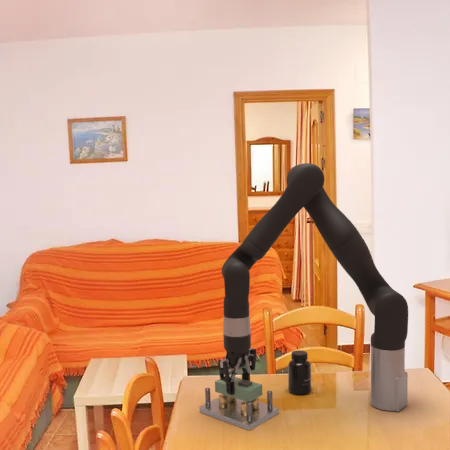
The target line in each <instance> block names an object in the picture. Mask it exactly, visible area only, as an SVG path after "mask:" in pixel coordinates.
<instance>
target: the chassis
mask: <svg viewBox="0 0 450 450" xmlns="http://www.w3.org/2000/svg"><path fill="white" fill-rule="evenodd" d="M204 393H205V394H204V395H205V398H204V399H205V402H204V403H205V404H202V405H201V406H199V407H198V409H199V413H201V414H204V415H205V416H209V417H212V418H215V419H217V420H220V421H222V422H224V423H227V424H230V425H233V426H236V427H238V428H241V429H244V430H247V431H252V430H253V429H255V428H257V427H258V426H260V425H261V424H263V423H265V422H267V421H268V420H271V419H272V418H273V417H275V416H277V415H278V414H280V412H279V411H280V408H279V407H277V406H273V390H267V392H266V398H267V399H266V400H267V403H264V402H261V401H259V400H260V399H259V398H260V397H258V398H256V399H254V400H252V401H251V402H250V401H248V402H247V401H243V400H240V399H237V398H234V397H230V396H227V395H224V394H221V393H220V394H219V395H218V397H216V398H215V399H212V400H211V388H210V387H206V388H204Z"/></svg>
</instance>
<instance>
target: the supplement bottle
mask: <svg viewBox="0 0 450 450" xmlns="http://www.w3.org/2000/svg"><path fill="white" fill-rule="evenodd" d="M308 357H309V356H308V352H307V351H306V350H294V351H291V357H290V358H291V360H289V362H288V364H287V365H288V367H287V369H288V371H287V373H288V377H287V379H288V382H287V383H288V385H287V386H288V391H289V392H290V393H291V394H293V395H297V396H299V395H300V396H303V395H308V394H310V392H311V391H312V365H311V362H310V361H309V360H308V359H309V358H308Z"/></svg>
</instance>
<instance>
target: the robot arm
mask: <svg viewBox="0 0 450 450" xmlns="http://www.w3.org/2000/svg"><path fill="white" fill-rule="evenodd" d="M287 172H288V173H287V174H286V185H287V186H286V188H285V189H284V191H283V193H282V194H281V195H280V197H279V198H278V199H277V201H276V202H275V204H274V205H273V206H272V207H271V208H270V209H269V210H268V211H267V212H266V213H265V214H264V215H263V216H262V217H261V218H260V219H259V220H258V221H257V223H256V224H254V226H253V228H251V230H250V231H249V233H248V234H247V236H245V238H244V239H243V241H242V243H241V244H240V245H239V246H238V247H237V248H236V249H235V250H234V251H233V252H232V253H231V254H230V255H229V256H228V258H227V259H226V260H225V261H224V263H223V265H222V268H221V275H222V278H223V281H224V284H223V285H224V298H223V323H222V326H223V327H222V329H223V332H222V333H223V335H222V336H223V348H224V350H225V351H226V354H225V357H224V358H223V359H219V360H218V361H217V365H218V371H219V379H220V380H222V381H226V391H227V393H228V394H230V395H234V394H235V389H234V387H235V386H234V379H235V377H236V375H238V373H239V372H238V371H239V369H241V372H242V373H241V379H244V380H248V381H251V374H252V371H255V370H256V362H257V361H256V360H257V349H256V348H252V338H251V337H252V331H251V330H252V329H251V328H252V327H251V319H250V301H249V294H250V287H251V286H250V284H251V277H250V276H251V273H250V270H251V269H252V268H253V267H254V265H255V264H256V263H257V262H259V261H260V260H262V259H263V258H264V257H265V256H266V255H267V253H268V251H270V250H271V248H272V247H273V246H274V244H275V242H276V241H277V240H278V239H279V237H280V236H281V234H282V233H283V231H284V230H285V229H286V227H288V225H289V224H290V222H291V221H292V220H293V219H295V218H294V217H295V216H296V215H298V213H299V212H300V211H301V210H302V209H304V210H305V211H306V212H307V213H308V216H310V218H311V220H312V222H313V223H314V225H315V227H316V229H317V230H318V233H319V234H320V236H321V238H322V239H323V241H324V242H325V244H326V245H327V247H328V249H329V250H330V252H331V253H332V255H333V256H334V258H335V259H336V261H337V262H338V263H339V265H340V266H341V267H342V269H343V270H344V271H345V272H346V274H347V275H348V276H349V277H350V278H351V279H352V281H353V283H354V284H355V285H356V287H357V288H358V290H359V292H360V294H361V296H362V298H363V299H364V301H365V304H366V305H367V307H368V309H369V311H370V313H371V314H372V315H373V316H374V322H373V323H374V326H373V327H374V330H373V333H372V334H371V336H370V404H371V405H372V406H373V408H375V409H378V410H382V411H387V412H391V411H392V412H398V413H399V412H400V411H401V410H403V409H404V408H405V407H406V406H408V372H407V371H405V370H406V369H405V367H406V363H405V358H406V354H405V353H406V348H405V347H406V340H407V337H408V330H409V329H408V328H409V305H408V301H407V299H406V298H405V297H404V296H403V295H402V294H401V293H399V292H398V291H397V290H395V289H393V288H392V286H391V285H389V283H388V282H387V281H386V280H385V278H384V277H383V276H382V275H381V273H380V271H379V270H378V268H377V266H376V265H375V262H374V260H373V256H372V254H371V253H372V252H371V251H370V249H369V246H368V245H367V243H366V241H365V240H364V238H363V236H362V235H361V233H360V232H359V230H358V229H357V227H356V226H355V224H353V222H352V221H351V220H350V219H349V218H348V217H347V216H346V215H345V214H344V212H342V211H341V210H340V209H339V208H338V206H336V205H335V203H334V202H333V201H332V200H331V198H330V197H329V195H328V193H327V191H326V190H325V188H324V184H325V175H324V172H323V170H322V169H321V167H320V166H319V165H316V164H314V163H309V162H307V163H306V162H305V163H304V162H303V163H301V164H300V163H299V164H296V165H294V166H293V167H291V168H290V170H289V171H287ZM230 374H231V375H230ZM229 375H230V376H231V377H229Z"/></svg>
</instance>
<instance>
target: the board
mask: <svg viewBox="0 0 450 450" xmlns="http://www.w3.org/2000/svg"><path fill="white" fill-rule="evenodd" d="M229 377H231V375H229ZM234 386H235V387H234V389H235V394H234V395H230V394H228V393H227V391H226V381H222V380H220V378H219V379H218V380H215V381H214V392H215V393H218V394H220V395H221V394H224V395H227V396H230V397H234V398H237V399H240V400H243V401H247V402H248V401H250V402H251V401H252V400H254V399H256V398H260V397H261V396H263V384H262V383H259V382H255V381H251V380H250V381H248V380H244V379H242V377H240V378H239V377H236V376H235V379H234Z"/></svg>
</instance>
